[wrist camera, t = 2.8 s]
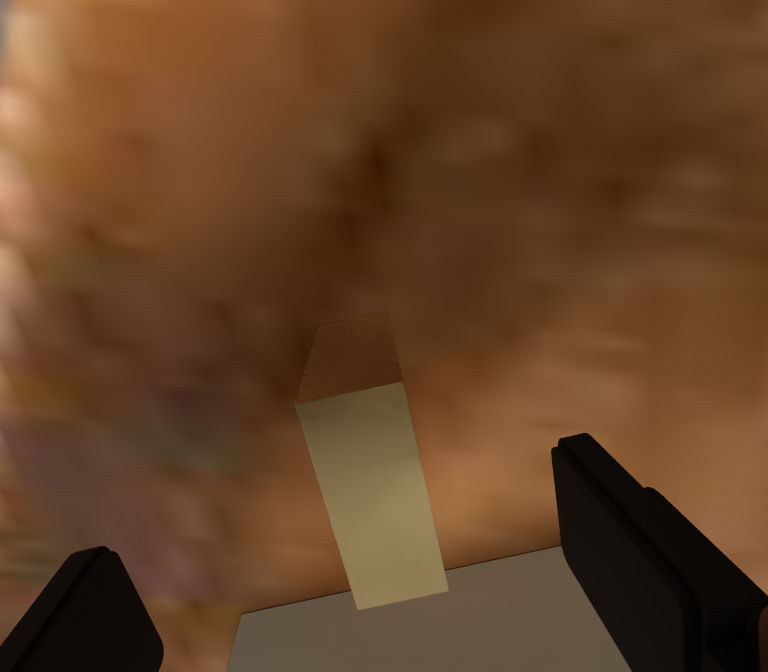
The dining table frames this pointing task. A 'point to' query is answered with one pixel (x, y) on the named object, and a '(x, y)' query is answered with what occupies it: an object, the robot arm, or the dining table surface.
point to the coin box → (441, 627)
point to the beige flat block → (369, 462)
